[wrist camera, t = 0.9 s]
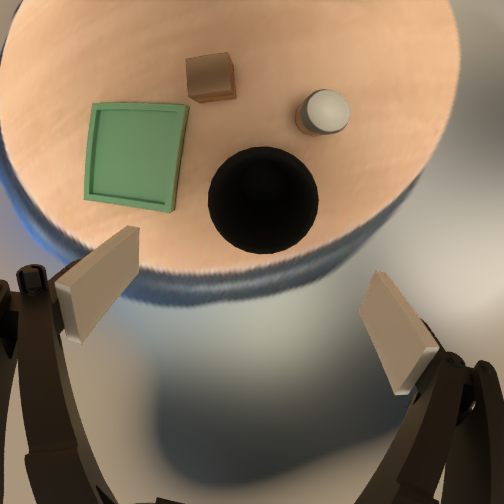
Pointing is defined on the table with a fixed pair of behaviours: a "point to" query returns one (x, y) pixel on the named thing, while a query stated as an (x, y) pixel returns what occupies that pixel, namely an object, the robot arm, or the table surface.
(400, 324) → the robot arm
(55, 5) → the table surface
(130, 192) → the tray
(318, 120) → the pepper shaker
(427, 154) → the table surface
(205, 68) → the walnut block
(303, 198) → the cup
